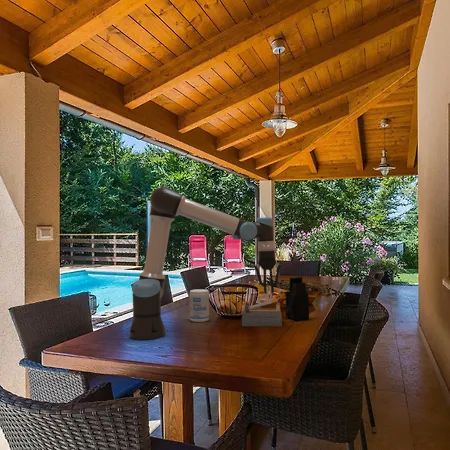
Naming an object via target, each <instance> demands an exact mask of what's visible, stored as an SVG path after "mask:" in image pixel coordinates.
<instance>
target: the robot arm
mask: <svg viewBox="0 0 450 450" xmlns="http://www.w3.org/2000/svg"><path fill="white" fill-rule="evenodd" d="M149 199H150V205H151V206H150V213H149V216H150V218H151V220H152V222H151V227H150V232H149V238H148V244H147V250H146V257H145V261H144V263H145V264H144V268H143V271H142V272H141V273H139V279H138V280H136V281H135V280H134V282H133V283H132V288H131V292H132V322H131V324H130V327H129V333H128V335H129V338H130V339H133V340H136V341H137V340H139V341H142V340H144V341H145V340H146V341H147V340H155V339H160V338H162V337H164V336H165V335H166V327H165V325H164V322H163V319H162V314H161V313H162V309H161V306H162V305H161V300H162V299H163V298H162V297H164V291H165V289H164V286H165V281H166V277H165V275H164V273H163V272H164V267H165V261H166V257H167V256H166V255H167V248H168V242H169V236H170V232H171V231H170V230H171V225H172V222H173V221H175V220H176V217H178V216H182V217H185V218H187V219H189V220H190V219H191V220H192V221H195V222H198V223H201V224H203V225H207V226H209V227H212V228H214V229H217V230H219V231H222V232H224V233H227V234H231V238H232V239H233V240H246V241H251V240H253V239H257V247H258V250H259V251H258V261H257V264H255V265H253V269H254V270H255V273H256V276H257V279H258V284H259V286H261V287H263V290H264V291H263V294H264V295H266V302H267V301H272V300H273V294H274V293H275V290H274V289H275V288H274V287H275V286H277V285H278V282H279V274H280V269H281V268H282V264H281V263H279V262H277V260H276V254H275V253H276V252H275V238H274V237H275V236H274V235H275V234H274V224H273V223H274V222H273V218H272V217H270V216H265V217H257V218H256V220H255V221H254V222H253V221H252V222H251V221H246V220H243V219H241V218H239V217H235V216H233V215H230V214H227V213H225V212H223V211H220V210H218V209H215V208H212V207H209V206H207V205H205V204H202V203H199V202H197V201H194V200H191V199H188V198H186V196H185V195H184V194H181V193H179V192H177V191H175V190H173V189H171V188H170V187H167V186H159V187H157V188H155V189H154V190H153V191H152V193H151V195H150V198H149ZM260 268H261V269H262V271H263V274H262V275H263V280H262V277H261V272H260V270H259V269H260ZM274 268H276V270H275V271H276V273H275V279H274V276H273V269H274ZM267 271H269V272H268V273H269V279H270V286H268V285H267Z"/></svg>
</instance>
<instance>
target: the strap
mask: <svg viewBox="0 0 450 450" xmlns="http://www.w3.org/2000/svg"><path fill="white" fill-rule="evenodd" d="M275 303H279V299H278V298H274V299H272V301H270V300H269V301H267V300H266V301H264V302H260V303H257V304H254V305H249V307H248V309H252V308H259V307H263V306H266V305H270V304H275Z"/></svg>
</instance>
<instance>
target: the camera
mask: <svg viewBox="0 0 450 450" xmlns="http://www.w3.org/2000/svg"><path fill="white" fill-rule="evenodd" d="M303 278H304V277H289V289H288V291H285V292H284V296H285V307H284V310H285V313H284V315H285V317H288V318H290V319H291V320H293V321H294V322H295V321H296V322H298V321H306V320H309V319H310V300H309V299H310V298H309V292H308V291H307V287H306V283H305V282H303Z"/></svg>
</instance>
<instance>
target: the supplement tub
mask: <svg viewBox="0 0 450 450" xmlns="http://www.w3.org/2000/svg"><path fill="white" fill-rule="evenodd" d="M189 320H190V321H191V322H193V323H202V322H203V323H204V322H207V321H209V320H210V291H209V290H208V289H203V288H202V289H196V288H195V289H192V290H190V291H189Z"/></svg>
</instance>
